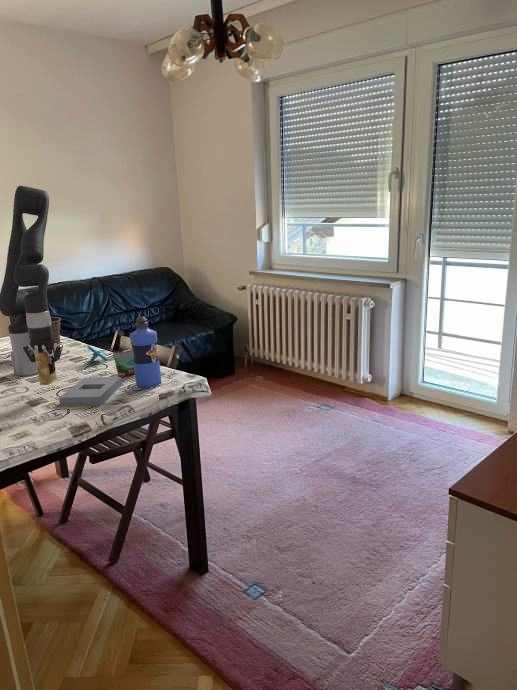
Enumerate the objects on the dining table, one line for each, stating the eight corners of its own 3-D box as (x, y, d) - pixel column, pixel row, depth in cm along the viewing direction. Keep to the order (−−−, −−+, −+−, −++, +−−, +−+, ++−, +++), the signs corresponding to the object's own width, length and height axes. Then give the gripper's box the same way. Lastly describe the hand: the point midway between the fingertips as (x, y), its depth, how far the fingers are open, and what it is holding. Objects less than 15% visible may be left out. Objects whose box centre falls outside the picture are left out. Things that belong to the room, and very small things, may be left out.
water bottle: (130, 387, 187) (121, 319, 180) (145, 379, 195) (137, 313, 189) (152, 389, 184) (144, 319, 177) (166, 380, 192) (159, 314, 185)
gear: (109, 359, 217) (89, 345, 214) (100, 371, 217) (80, 357, 213) (107, 356, 228) (88, 343, 225) (99, 367, 227) (79, 354, 224)
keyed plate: (60, 406, 173) (58, 397, 172) (85, 385, 192) (84, 377, 191) (101, 405, 171) (99, 396, 171) (122, 384, 191) (121, 376, 190)
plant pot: (52, 348, 247) (47, 315, 243) (73, 352, 238) (68, 318, 234) (20, 358, 234) (14, 322, 230) (41, 362, 225) (35, 326, 221)
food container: (127, 380, 195) (123, 354, 193) (115, 378, 199) (112, 352, 196) (150, 370, 205) (147, 346, 203) (138, 368, 209) (135, 344, 206)
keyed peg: (40, 384, 178) (35, 353, 175) (48, 379, 184) (44, 348, 181) (48, 384, 178) (43, 353, 175) (56, 379, 183) (52, 348, 180)
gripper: (64, 321, 178) (71, 369, 183) (25, 322, 180) (33, 370, 184) (54, 326, 171) (61, 377, 175) (13, 327, 172) (22, 377, 177)
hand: (47, 373), depth 180 cm, fingers closed on keyed peg, 3 cm apart
